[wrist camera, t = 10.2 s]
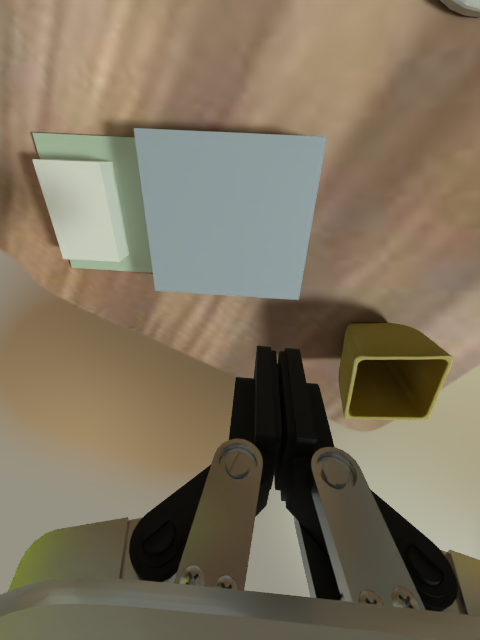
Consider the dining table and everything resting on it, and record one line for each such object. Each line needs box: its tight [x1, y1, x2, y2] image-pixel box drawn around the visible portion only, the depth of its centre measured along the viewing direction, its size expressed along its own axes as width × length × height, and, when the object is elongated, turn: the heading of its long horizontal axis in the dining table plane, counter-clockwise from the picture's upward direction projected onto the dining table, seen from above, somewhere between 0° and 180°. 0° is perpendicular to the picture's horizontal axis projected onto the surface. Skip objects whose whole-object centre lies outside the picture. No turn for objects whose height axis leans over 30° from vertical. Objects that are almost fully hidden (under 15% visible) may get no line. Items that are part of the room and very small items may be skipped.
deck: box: [134, 128, 327, 300], centre depth 26 cm, size 14×15×4 cm
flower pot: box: [339, 323, 453, 420], centre depth 31 cm, size 9×9×9 cm
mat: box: [32, 133, 153, 273], centre depth 28 cm, size 13×11×1 cm
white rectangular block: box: [32, 159, 129, 262], centre depth 27 cm, size 9×6×2 cm, turn 178°
